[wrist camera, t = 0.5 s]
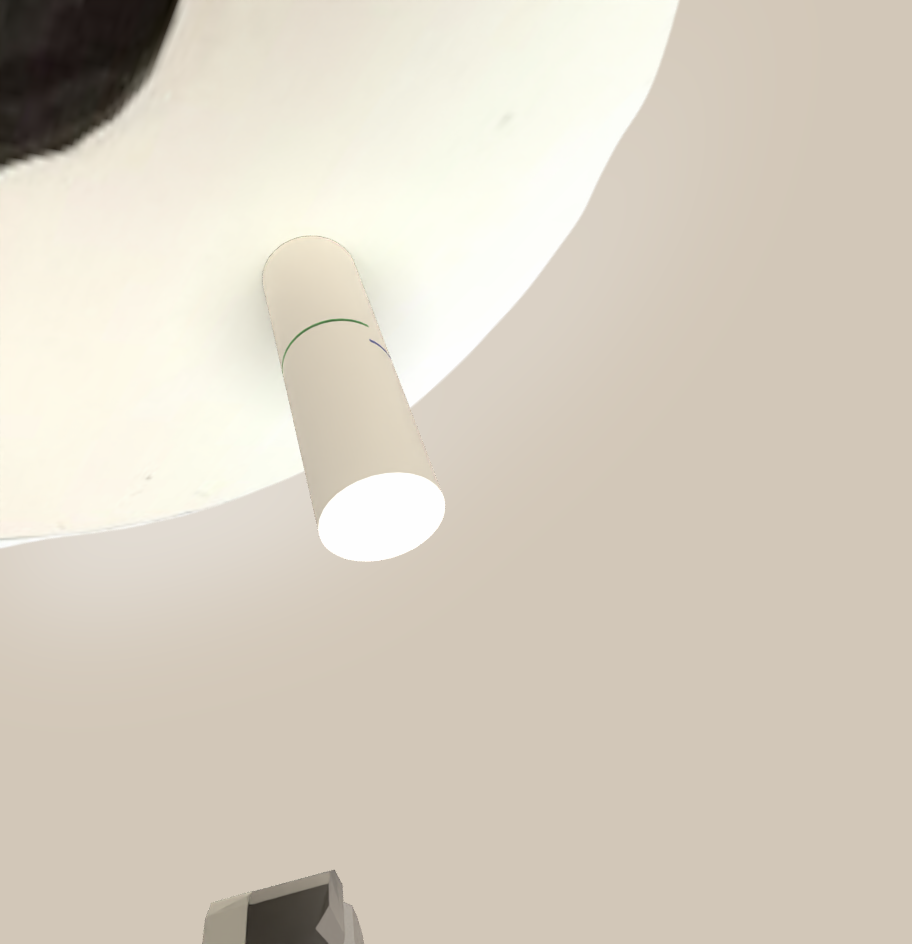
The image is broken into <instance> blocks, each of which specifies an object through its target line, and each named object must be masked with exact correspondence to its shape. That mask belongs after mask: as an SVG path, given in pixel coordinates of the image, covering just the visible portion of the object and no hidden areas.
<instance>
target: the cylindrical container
mask: <svg viewBox="0 0 912 944" xmlns="http://www.w3.org/2000/svg"><path fill="white" fill-rule="evenodd" d="M262 282H263V287H264V292H265V297H266V301H267V306H268V310H269V315H270V319H271V324H272V328H273V333H274V337H275V342H276V346H277V351H278V355H279V360H280V364H281V369H282V373H283V377H284V382H285V386H286V391H287V395H288V400H289V404H290V408H291V413H292V417H293V422H294V426H295V431H296V435H297V439H298V444H299V448H300V453H301V457H302V461H303V466H304V470H305V475H306V479H307V484H308V488H309V492H310V497H311V501H312V506H313V510H314V514H315V519H316V523H317V527H318V532H319V537H320V539H321V541H322V543H323V544H324V545H325V547H326V548H327V549H329V551H331V552H332V553H334V554H336V555H337V556H340V557H342V558H345V559H349V560H354V561H378V560H384V559H388V558H393V557H396V556H398V555H401V554H404V553H406V552H408V551H410V550H412V549H414V548H416V547H417V546H419V545H420V544H421V543H423V542H424V541H425V540H427V539H428V538H429V537H430V536H431V535H432V534H433V533H434V531H435V530H436V529H437V528H438V526H439V524H440V523H441V521H442V519H443V515H444V512H445V500H444V497H443V494H442V491H441V489H440V486H439V484H438V481H437V478H436V475H435V473H434V470H433V468H432V465H431V462H430V460H429V457H428V454H427V452H426V449H425V446H424V444H423V441H422V439H421V436H420V433H419V431H418V428H417V426H416V423H415V420H414V418H413V415H412V413H411V410H410V407H409V405H408V402H407V399H406V397H405V394H404V392H403V389H402V386H401V384H400V381H399V379H398V376H397V373H396V371H395V368H394V366H393V363H392V360H391V358H390V355H389V352H388V350H387V347H386V345H385V342H384V339H383V337H382V334H381V331H380V329H379V326H378V323H377V321H376V318H375V316H374V313H373V310H372V308H371V305H370V302H369V300H368V297H367V295H366V292H365V289H364V287H363V284H362V282H361V279H360V276H359V274H358V271H357V269H356V266H355V263H354V261H353V259H352V257H351V256H350V254H349V253H348V252H347V250H346V249H345V248H344V247H342V246H341V245H340V244H338V243H337V242H335V241H333V240H330V239H328V238H324V237H320V236H305V237H298V238H296V239H293V240H290V241H288V242H286V243H284V244H283V245H281V246H280V247H279V248H277V249H276V250H275V251H274V252H273V253H272V255H271V256H270V257H269V259H268V261H267V262H266V264H265V267H264V271H263V280H262Z"/></svg>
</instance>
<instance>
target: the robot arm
mask: <svg viewBox="0 0 912 944" xmlns="http://www.w3.org/2000/svg"><path fill="white" fill-rule="evenodd" d="M342 888H343V887H342V883H341V881H340V879H339V877H338V876H337V873H336V872H335V870H331V871H327V872H323V873H320V874H316V875H312V876H309V877H305V878H301V879H298V880H294V881H290V882H286V883H283V884H279V885H275V886H271V887H268V888H264V889H260V890H257V891H251V892H247V893H244V894H240V895H237V896H233V897H230V898H227V899H223V900H220V901H216V902H213V903H211V905H210V908H209V910H208V913H207V916H206V918H205V925H204V934H203V943H202V944H364V942H363V936H362V932H361V928H360V925H359V922H358V918H357V916H356V913H355V911H354V909H353V907H352V905H350V904H347V903H345V902H343V889H342Z"/></svg>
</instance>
